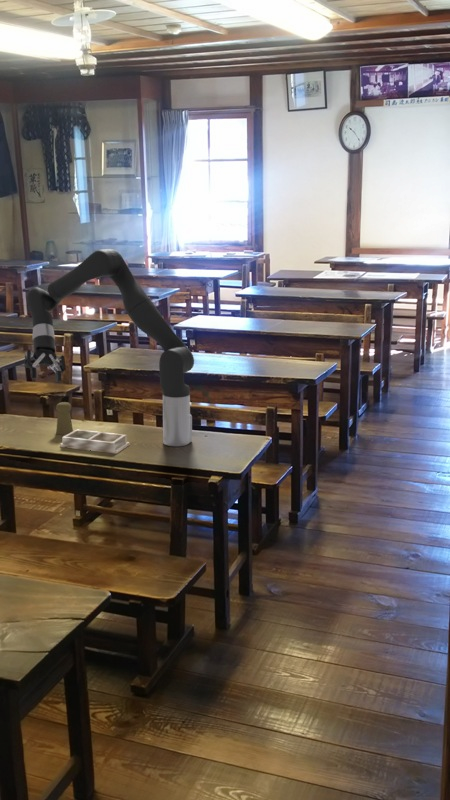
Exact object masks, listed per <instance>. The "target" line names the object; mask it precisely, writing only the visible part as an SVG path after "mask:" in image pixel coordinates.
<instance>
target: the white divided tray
mask: <svg viewBox="0 0 450 800" xmlns="http://www.w3.org/2000/svg"><path fill="white" fill-rule="evenodd" d="M127 436H128V435H127V434H121V433H116V432H115V433H113V432H107V431H106V432H104V431H96V430H87V429H75V430H74V429H73V432H71V433H69V434H67V435H63V436H62V437H61V438H62V442H61V443H59V447H60V448H65V447H67V449H74V450H75V449H76V450H84V451H90V450H91V451H92V452H100V453H108V454H116V455H117V454H119V453H120V452H121V451H123V450H124V449H126V448H127V447H129V446H130V441H128V440H127Z"/></svg>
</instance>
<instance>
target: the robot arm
mask: <svg viewBox="0 0 450 800" xmlns="http://www.w3.org/2000/svg"><path fill="white" fill-rule="evenodd" d="M100 277H103V278H105V277H106V278H107V277H109V278H110V279H111V280H112V281H113V282H114V283H115V285H116V286H117V288H118V289H119V292H120V294H121V298H122V303H123V307H124V310H125V312H126V314H127V315H128V317H129V319H131V322H132V323H133V324H134V325H135V327H137V329H139V330H140V331H141V332H143V333H144V334H146V335H147V336H149V337H150V338H151V339H152V340H154V341H155V342H156V343H157V344H158V345H159V346H160V347H161V348H162V350H163V352H162V353H161V354H160V357H159V363H158V364H159V365H158V366H159V367H158V371H159V383H160V387H161V390H162V437H163V438H162V439H163V441H162V443H163V444H164V445H165V446H169V447H183V446H187V445H189V444H190V443H192V442H193V416H192V414H191V389H190V385H188V384H186V383H185V375H184V374H185V373H188V372H190V371H191V370H192V369H193V368H194V364H195V357H194V355H193V353H192V351H191V350H190V348H189V347H188V346H187V345H186V344H185V343H184V341H182V340H181V339H182V338H180V337H179V336H178V335H177V334H176V332H174V330H173V328H172V327H171V326H170V325H169V323H168V322H167V321H166V319H165V318H164V317H163V315H162V314H161V312H160V311H159V310H158V308H157V306H156V305H155V304H154V302H153V301H152V300H151V299H150V297H149V296H148V295H147V293H146V292H145V290H144V289H143V287H141V284H140V283H138V281H137V279H136V278H135V276H134V274H133V273H132V271H131V270H130V268H129V266H128V264H127V263H126V261H125V259H124V258H123V256H122V255H121V254H120V253H119V251H117V250H116V249H113V248H105V249H104V248H103V249H102V248H101V249H97V250H94V252H92V253H90V255H89V256H88V257H86V258H85V259H84V260H83V261H82V262H80V264H78V265H77V266H75V268H73V269H71V270H70V271H68V272H67V273H65V274H63V275H62V276H60V277H58V278H57V279H55V280H53V281H51V282H50V283H49V284H48V285H47V290H44V289H42V288H40V287H36V286H35V287H32V288H30V289H29V291H28V292H27V295H26V304H27V306H28V310H29V313H30V316H31V318H32V344H33V345H32V346H33V347H32V348H33V351H31V350H30V349H27V350H26V351H25V353H24V367H25V368H26V369H27V368H28V369H29V370H30V378H31V379H32V381H33V380H34V381H35V380H36V379H37V377H38V375H37V368H36V367H37V366H38V365H39V366H42V367H43V366H44V367H49V368H50V369H51V370H52V371H53V372H54V373H55V374H54V380H55V383H56V384H60V382H61V381H62V374H63V373H64V372H65V371H66V370H67V366H66V359H65V356H64V355H63V354H62V355H59V356H58V355H57V354H56V340H55V337H56V336H55V330H54V319H53V316H52V313H50V312H52V311H53V310H55V308H56V307H57V306H58V305H59V304H60V303H61V302H62V300H63V299H65V298H67V297H69V296H71V295H72V294H74V293H75V292H77V291H78V290H79V289H80V288H81V287H82V286H83V285H84V284H85V283H87V282H89V281H91V280H94V279H97V278H100ZM32 357H33V358H34V360H35V361H34V362H33V363H32V362H31V361H32V360H31V359H32Z"/></svg>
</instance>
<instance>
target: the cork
mask: <svg viewBox="0 0 450 800" xmlns="http://www.w3.org/2000/svg"><path fill="white" fill-rule="evenodd" d="M55 408H56V409H55V410H56V411H57V421H56V432H55V434H56V435H60V436H65V435H67V434H69V433H71V432H73V431H74V429H73V422H72V417H71V410H72V405H71V403H70V402H66V401H62V402H58V403H57V404H56V407H55Z"/></svg>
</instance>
